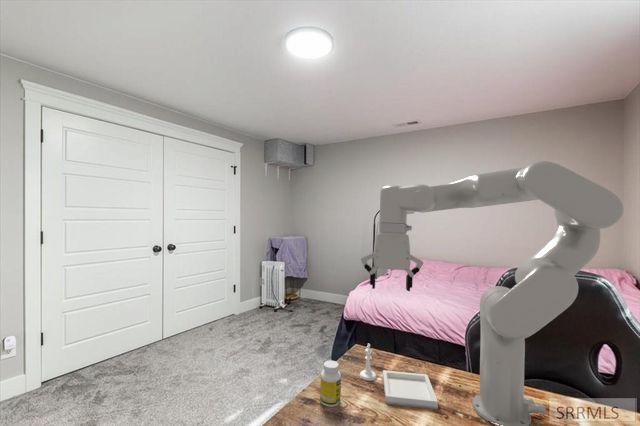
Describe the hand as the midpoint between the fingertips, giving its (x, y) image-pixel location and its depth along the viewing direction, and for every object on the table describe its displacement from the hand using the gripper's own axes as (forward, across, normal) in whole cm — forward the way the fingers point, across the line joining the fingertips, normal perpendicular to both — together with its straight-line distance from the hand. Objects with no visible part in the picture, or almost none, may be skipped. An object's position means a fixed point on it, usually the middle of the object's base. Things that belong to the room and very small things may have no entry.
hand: (390, 288), depth 85 cm
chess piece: (+29, +6, -5) cm, 30 cm away
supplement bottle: (+29, +15, +9) cm, 34 cm away
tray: (+28, -6, +1) cm, 29 cm away
